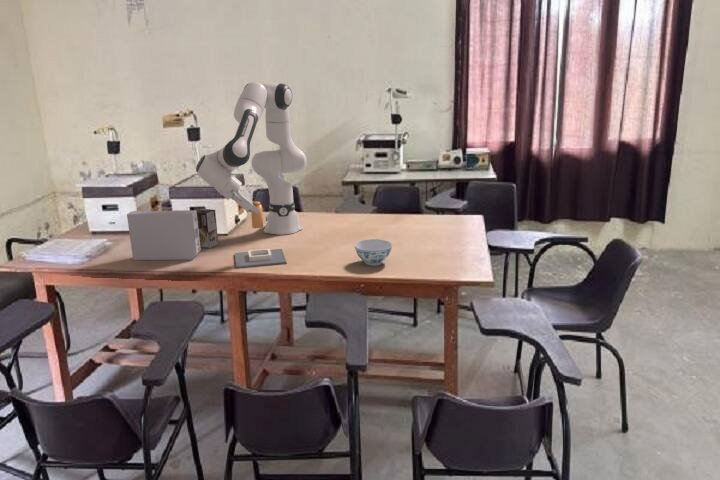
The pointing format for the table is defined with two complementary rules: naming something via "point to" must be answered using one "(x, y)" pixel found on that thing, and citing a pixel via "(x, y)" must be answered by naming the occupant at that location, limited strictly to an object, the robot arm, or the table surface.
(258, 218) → the orange cylinder
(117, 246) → the table surface
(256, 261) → the holder
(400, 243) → the table surface
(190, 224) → the game console
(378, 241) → the chinaware
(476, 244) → the table surface
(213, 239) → the coffee box
